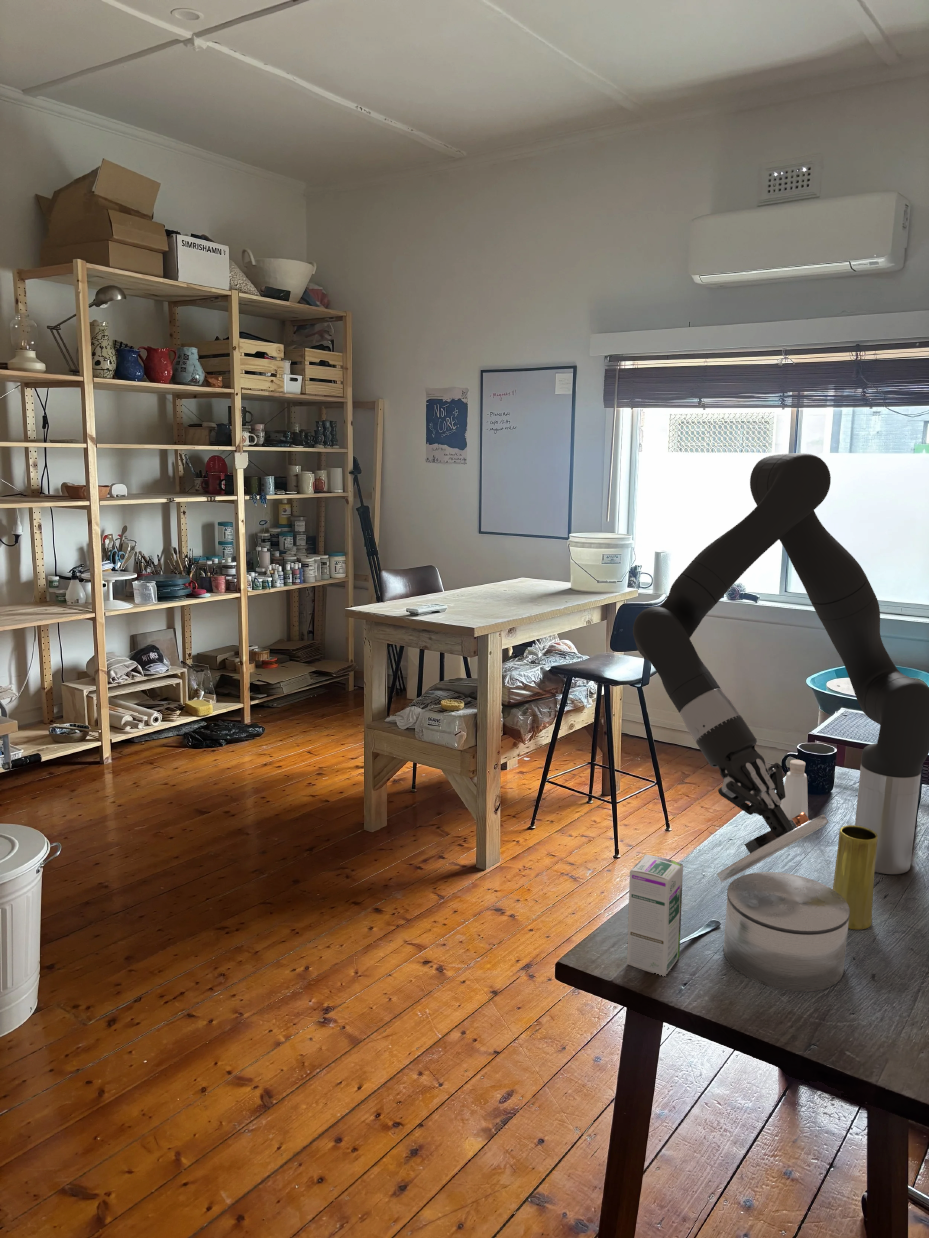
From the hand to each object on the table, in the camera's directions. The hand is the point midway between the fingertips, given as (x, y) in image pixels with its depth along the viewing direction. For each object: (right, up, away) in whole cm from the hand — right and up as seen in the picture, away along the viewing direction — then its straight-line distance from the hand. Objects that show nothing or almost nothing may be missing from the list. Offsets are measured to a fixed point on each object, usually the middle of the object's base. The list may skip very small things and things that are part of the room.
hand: (786, 834), depth 125 cm
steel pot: (0, -18, +3) cm, 18 cm away
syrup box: (-18, -18, +2) cm, 26 cm away
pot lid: (-1, -3, +2) cm, 4 cm away
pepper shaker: (+19, -8, +50) cm, 54 cm away
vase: (+14, -16, +13) cm, 25 cm away
